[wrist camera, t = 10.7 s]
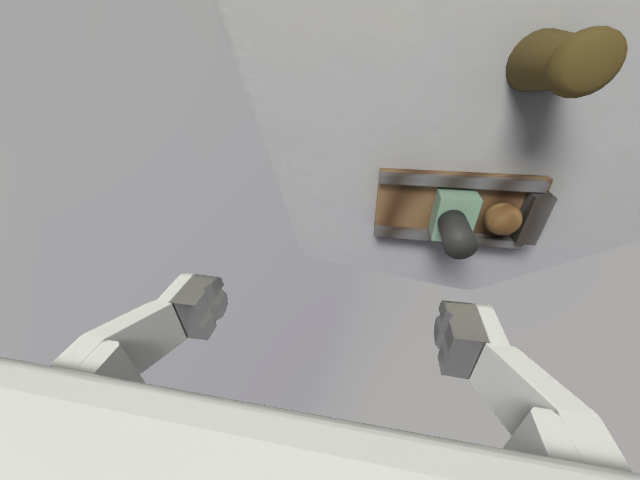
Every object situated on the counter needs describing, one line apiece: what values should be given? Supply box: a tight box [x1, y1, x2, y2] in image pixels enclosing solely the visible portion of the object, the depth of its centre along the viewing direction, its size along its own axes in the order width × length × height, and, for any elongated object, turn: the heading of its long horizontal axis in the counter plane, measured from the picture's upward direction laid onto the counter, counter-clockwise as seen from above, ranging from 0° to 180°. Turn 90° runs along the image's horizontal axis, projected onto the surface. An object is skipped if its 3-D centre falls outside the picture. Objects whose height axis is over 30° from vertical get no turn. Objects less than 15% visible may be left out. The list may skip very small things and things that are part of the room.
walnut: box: [484, 203, 522, 235], centre depth 38 cm, size 4×4×4 cm
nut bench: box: [373, 168, 557, 249], centre depth 41 cm, size 22×10×4 cm, turn 91°
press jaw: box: [428, 187, 483, 259], centre depth 37 cm, size 5×7×10 cm
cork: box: [506, 26, 627, 98], centre depth 27 cm, size 6×6×11 cm
